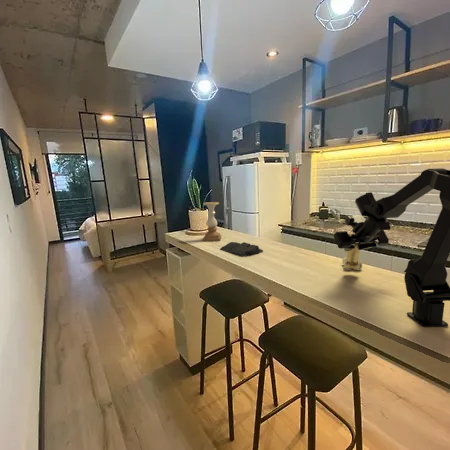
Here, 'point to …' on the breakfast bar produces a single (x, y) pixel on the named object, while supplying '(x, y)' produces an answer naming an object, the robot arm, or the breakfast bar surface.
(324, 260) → the breakfast bar surface
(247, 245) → the dark slate chunk
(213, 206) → the candle holder
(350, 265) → the knob
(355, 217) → the robot arm
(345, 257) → the pipe fitting
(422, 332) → the breakfast bar surface
